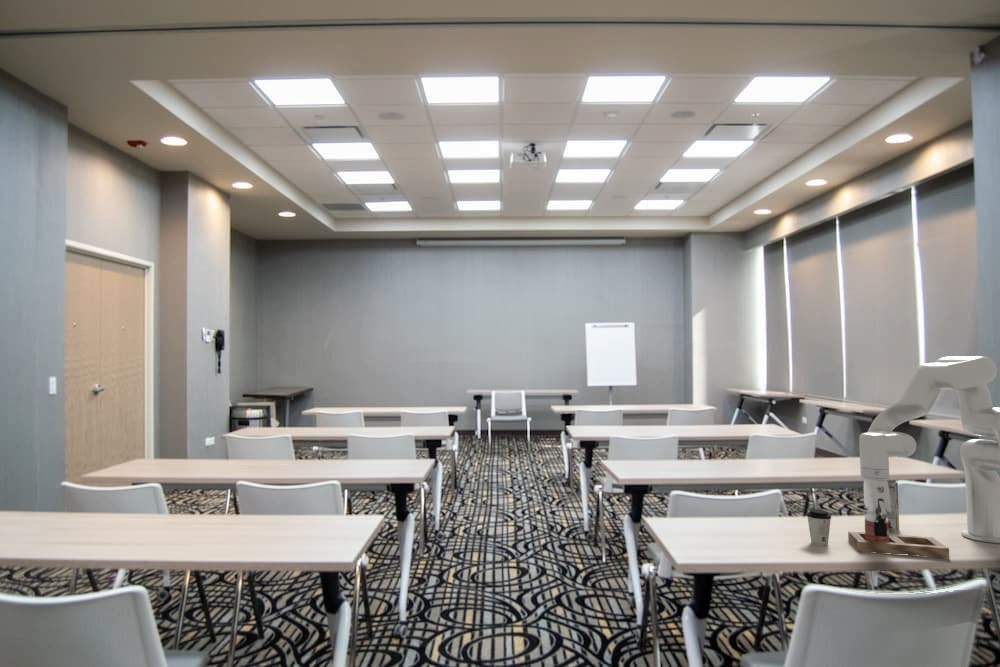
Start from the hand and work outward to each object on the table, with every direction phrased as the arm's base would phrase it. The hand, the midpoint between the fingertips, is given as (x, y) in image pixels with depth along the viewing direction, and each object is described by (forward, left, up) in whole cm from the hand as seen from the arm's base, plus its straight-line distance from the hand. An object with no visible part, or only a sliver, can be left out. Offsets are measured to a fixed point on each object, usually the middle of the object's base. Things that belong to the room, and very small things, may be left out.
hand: (876, 532), depth 184 cm
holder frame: (-5, 0, -5) cm, 7 cm away
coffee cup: (+16, 0, -5) cm, 17 cm away
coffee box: (-9, -22, -5) cm, 24 cm away
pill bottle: (0, 0, -4) cm, 4 cm away
